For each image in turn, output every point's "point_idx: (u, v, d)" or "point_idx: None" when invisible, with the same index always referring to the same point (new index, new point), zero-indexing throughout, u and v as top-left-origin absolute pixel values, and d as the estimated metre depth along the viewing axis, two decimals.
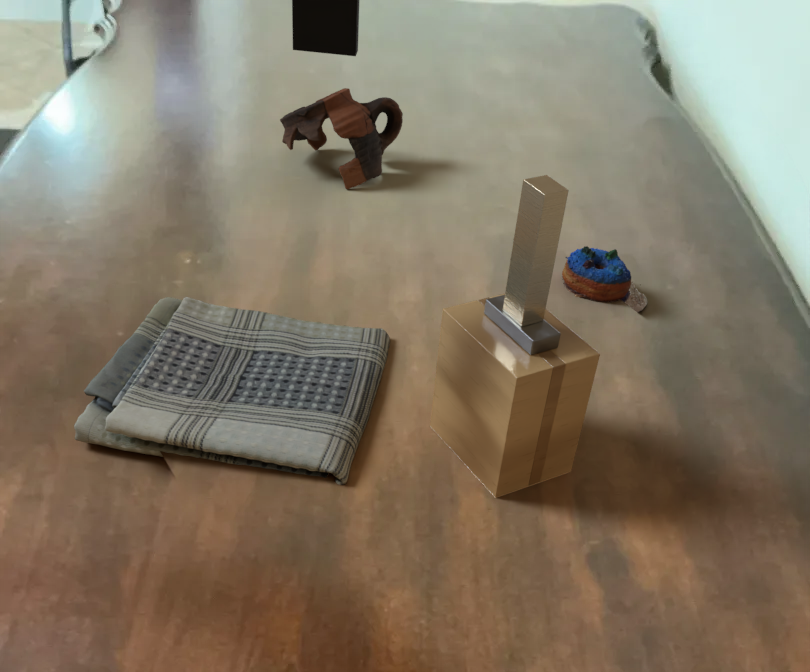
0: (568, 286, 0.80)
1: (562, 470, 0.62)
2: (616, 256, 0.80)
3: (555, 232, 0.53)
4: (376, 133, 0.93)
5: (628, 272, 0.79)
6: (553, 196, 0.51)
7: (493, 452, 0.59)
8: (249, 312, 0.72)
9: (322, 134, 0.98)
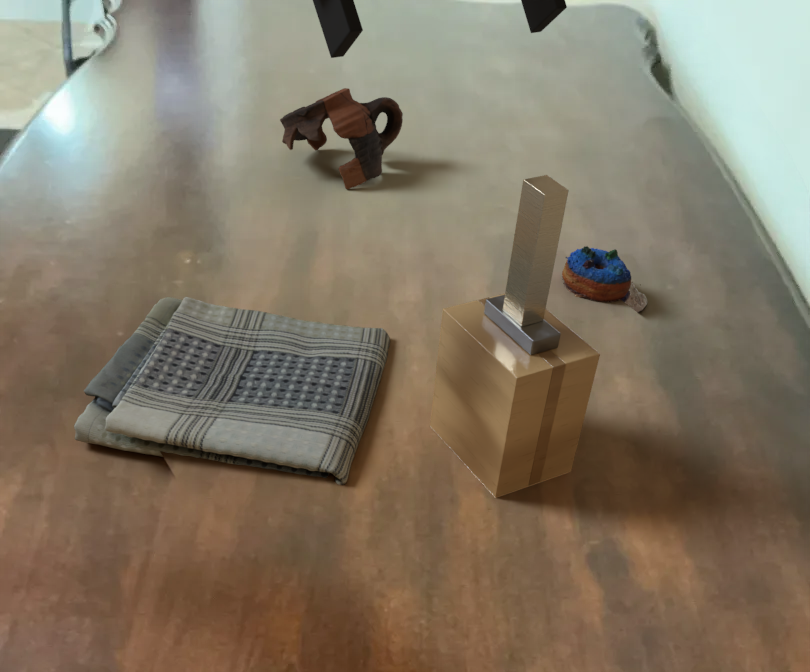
0: (568, 286, 0.80)
1: (562, 470, 0.62)
2: (616, 256, 0.80)
3: (555, 232, 0.53)
4: (376, 133, 0.93)
5: (628, 272, 0.79)
6: (553, 196, 0.51)
7: (493, 452, 0.59)
8: (249, 312, 0.72)
9: (322, 134, 0.98)
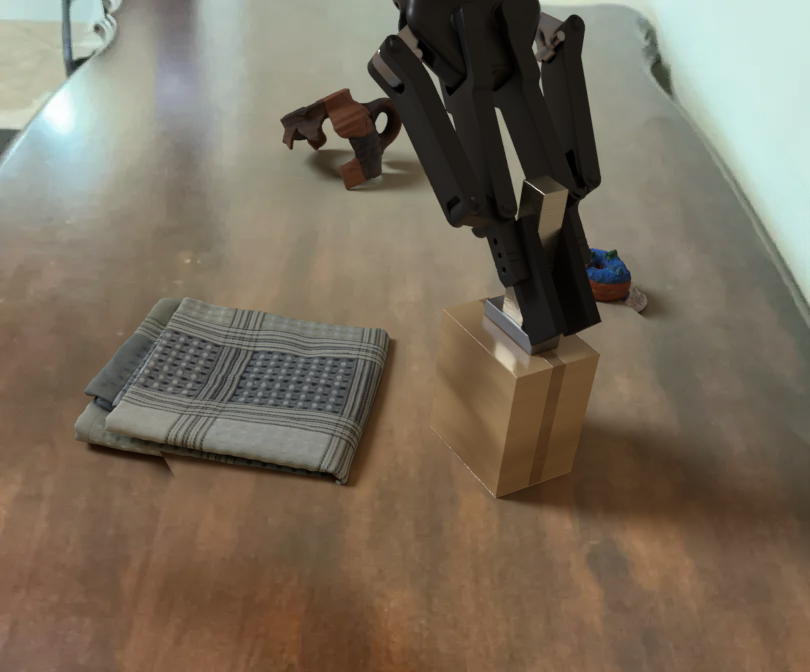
0: None
1: (562, 470, 0.62)
2: (616, 256, 0.80)
3: (555, 232, 0.53)
4: (376, 133, 0.93)
5: (628, 272, 0.79)
6: (553, 196, 0.51)
7: (493, 452, 0.59)
8: (249, 312, 0.72)
9: (322, 134, 0.97)
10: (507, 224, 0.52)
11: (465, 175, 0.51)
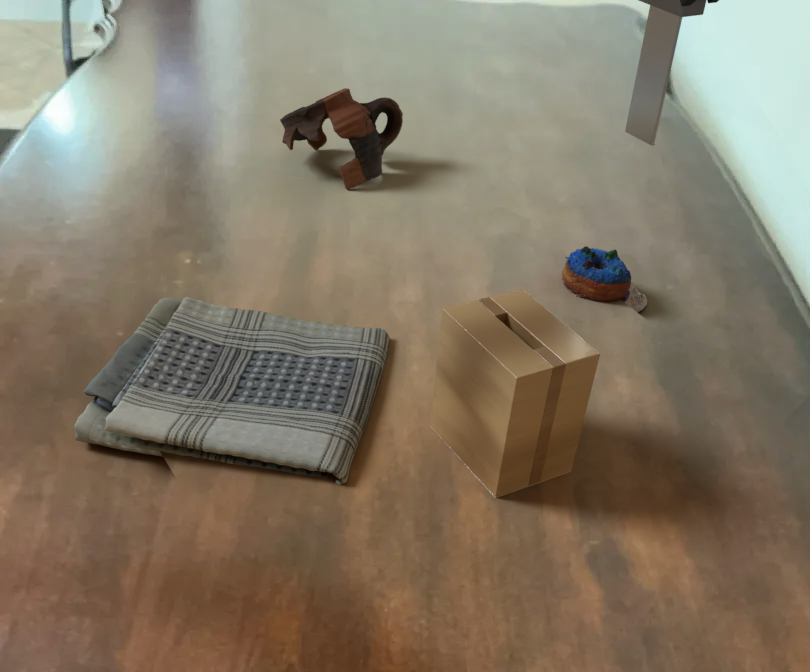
0: (568, 286, 0.80)
1: (562, 470, 0.62)
2: (616, 256, 0.80)
3: None
4: (376, 133, 0.93)
5: (628, 272, 0.79)
6: None
7: (493, 452, 0.59)
8: (249, 312, 0.72)
9: (322, 134, 0.97)
10: None
11: None
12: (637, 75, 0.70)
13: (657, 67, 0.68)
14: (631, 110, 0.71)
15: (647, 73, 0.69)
